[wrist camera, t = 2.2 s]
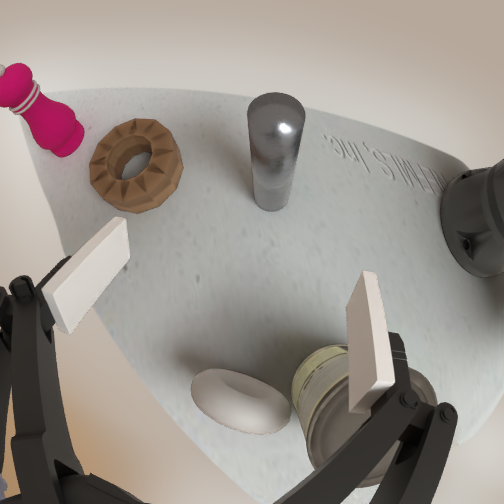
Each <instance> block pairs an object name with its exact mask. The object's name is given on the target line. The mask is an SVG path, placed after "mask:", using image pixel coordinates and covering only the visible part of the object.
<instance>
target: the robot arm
mask: <svg viewBox="0 0 504 504" xmlns="http://www.w3.org/2000/svg"><path fill="white" fill-rule="evenodd" d="M441 222H442V227H443V232H444V235H445V238H446V241H447V244H448V246H449V248H450V250H451V252H452V254H453V255H454V257H455V259H456V260H457V261H458V263H459V264H460V265H461V266H462V267H463V268H464V269H465V270H466V271H468V272H469V273H471V274H473V275H475V276H478V277H490V276H495V275H499V274H501V273H503V272H504V159H503V160H501V161H500V162H499V163H497V164H496V165H494V166H493V167H488V168H481V169H475V170H469V171H465V172H463V173H461V174H460V175H458V176H457V177H456V178H454V179H453V180H452V181H451V182H450V183H449V184H448V185H447V187H446V189H445V191H444V193H443V197H442V202H441ZM129 259H130V250H129V242H128V233H127V223H126V218H122V217H117V216H115V217H114V218H113V219H112V220H110V221H109V222H108V223H107V224H106V225H105V226H104V227H103V228H102V229H101V230H99V231H98V232H97V233H96V234H95V235H94V236H93V237H92V238H91V239H90V240H89V241H88V242H87V243H86V244H85V245H84V246H83V247H82V248H80V249H79V250H78V251H77V252H76V253H75V254H74V255H73V256H68V257H66V258H64V259H63V260H61V261H60V262H59V263H58V264H57V265H56V266H55V268H53V269H52V270H51V271H50V273H48V274H47V275H46V276H45V277H44V278H43V279H42V281H41V282H40V283H39V284H38V285H37V286H36V287H34V285H33V282H32V280H31V278H30V277H29V276H26V275H23V276H19V277H17V278H15V279H14V280H12V282H11V283H10V285H9V289H10V292H11V294H12V295H8V294H7V292H6V290H5V288H4V287H0V327H1V330H0V504H149V503H144V502H142V501H141V500H139V499H138V498H136V497H135V496H134V495H132V494H131V493H129V492H127V491H125V490H123V489H121V488H119V487H118V486H116V485H114V484H111V483H109V482H108V481H105V480H103V479H101V478H99V477H97V476H95V475H93V474H92V473H90V475H85V474H84V471H83V469H82V466H81V464H80V462H79V460H78V459H77V457H76V455H75V453H74V451H73V447H72V443H71V439H70V436H69V432H68V427H67V423H66V418H65V414H64V408H63V403H62V397H61V391H60V385H59V378H58V370H57V362H56V352H55V342H54V331H53V328H52V326H53V325H54V324H55V322H56V325H57V327H58V329H59V330H60V331H62V332H64V333H66V334H68V335H71V334H72V332H73V331H74V330H75V328H76V327H77V325H78V324H79V323H80V321H81V320H82V318H83V317H84V316H85V314H86V313H87V312H88V311H89V309H90V308H91V307H92V305H93V304H94V303H95V301H96V300H97V299H98V297H99V296H100V295H101V294H102V292H103V291H104V290H105V288H106V287H107V286H108V285H109V283H110V282H111V281H112V280H113V278H114V277H115V276H116V275H117V273H118V272H119V271H120V270H121V268H122V267H123V266H124V265H125V264H126V262H127V261H128V260H129ZM346 319H347V338H348V366H349V412H351V413H362V414H365V413H366V412H367V411H368V410H369V409H370V408H371V416H370V417H369V418H368V419H367V420H366V421H365V422H363V423H362V424H361V427H360V428H359V429H358V430H357V431H356V432H355V433H354V434H353V435H352V436H351V437H350V438H349V439H348V440H347V441H346V442H345V443H344V444H343V445H342V446H341V447H340V448H339V449H338V450H337V451H336V452H335V453H333V454H332V455H331V456H330V457H329V458H328V459H327V460H326V461H325V462H324V463H323V464H321V465H320V466H319V467H318V468H317V469H316V470H315V471H313V472H312V473H311V474H310V475H309V476H308V477H306V478H305V479H304V480H303V481H302V482H300V483H299V484H298V485H297V486H295V487H294V488H293V489H292V490H290V491H289V492H288V493H286V494H285V495H284V496H282V497H281V498H280V499H278V500H277V501H276V502H274V503H273V504H340V503H341V502H342V501H343V500H344V499H345V498H346V497H347V496H348V495H349V494H350V493H351V492H352V491H353V490H354V489H355V488H356V487H357V486H358V485H359V484H360V483H361V482H362V481H363V480H364V479H365V478H366V477H367V476H368V474H369V473H370V472H371V471H372V470H373V469H374V468H375V466H376V465H377V464H378V463H379V462H380V461H381V459H382V458H383V457H384V456H385V455H386V453H387V452H388V451H389V450H390V448H391V447H392V446H393V445H394V443H395V442H396V441H397V440H398V441H400V443H399V446H398V448H397V450H396V452H395V455H394V457H393V459H392V461H391V463H390V465H389V467H388V470H387V472H386V474H385V476H384V478H383V479H382V481H381V483H380V485H379V487H378V489H377V491H376V493H375V494H374V496H373V498H372V500H371V502H370V503H369V504H431V502H432V499H433V497H434V494H435V492H436V489H437V487H438V484H439V481H440V479H441V476H442V473H443V470H444V467H445V464H446V461H447V457H448V454H449V451H450V448H451V444H452V440H453V437H454V433H455V429H456V425H457V420H458V415H457V411H456V410H455V408H454V407H453V406H452V405H451V404H450V403H446V402H443V403H440V404H439V405H437V406H436V407H434V406H432V405H429V404H427V403H424V402H422V401H420V398H419V395H418V394H417V393H416V391H415V390H413V389H412V388H411V382H410V376H409V370H408V364H407V361H406V359H407V358H406V353H405V348H404V343H403V341H402V339H401V337H400V336H399V334H398V333H392V332H388V330H387V324H386V319H385V314H384V308H383V303H382V299H381V294H380V289H379V285H378V280H377V276H376V273H373V272H368V271H364V270H363V271H362V273H361V275H360V278H359V280H358V282H357V284H356V287H355V289H354V291H353V293H352V295H351V298H350V300H349V302H348V304H347V306H346ZM11 385H12V400H13V412H14V420H15V429H16V434H15V436H14V437H12V439H11V450H12V455H13V461H14V466H15V471H16V475H17V480H18V484H19V488H20V492H21V494H18V495H15V496H12V497H9V498H5V495H4V491H6V490H7V483H6V481H5V480H4V479H3V478H2V475H1V473H2V468H3V462H4V452H5V434H6V422H7V413H8V405H9V398H10V391H11Z"/></svg>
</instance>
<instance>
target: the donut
mask: <svg viewBox="0 0 504 504" xmlns="http://www.w3.org/2000/svg"><path fill="white" fill-rule="evenodd" d="M191 396H192V398H193V400H194V402H195V404H196V405H197V407H198V408H199V409H200V410H201V411H202V412H203V413H204V414H206V415H207V416H209V417H210V418H212V419H213V420H215V421H216V422H218V423H220V424H222V425H224V426H226V427H228V428H231V429H234V430H237V431H241V432H244V433H250V434H259V435H262V434H271V433H275V432H277V431H279V430H280V429H282V428H283V427H285V426H286V425H287V423H288V422H289V419H290V416H291V406H290V404H289V402H288V400H287V399H286V397H284V396H283V395H282V394H281V393H280V392H279V391H278V390H276V389H275V388H273V387H271V386H270V385H268V384H266V383H264V382H262V381H260V380H257V379H255V378H253V377H250V376H247V375H244V374H241V373H238V372H234V371H230V370H225V369H207V370H205V371H202V372H200V373H199V374H197V375H196V376H195V378H194V379H193V382H192V385H191Z"/></svg>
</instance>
